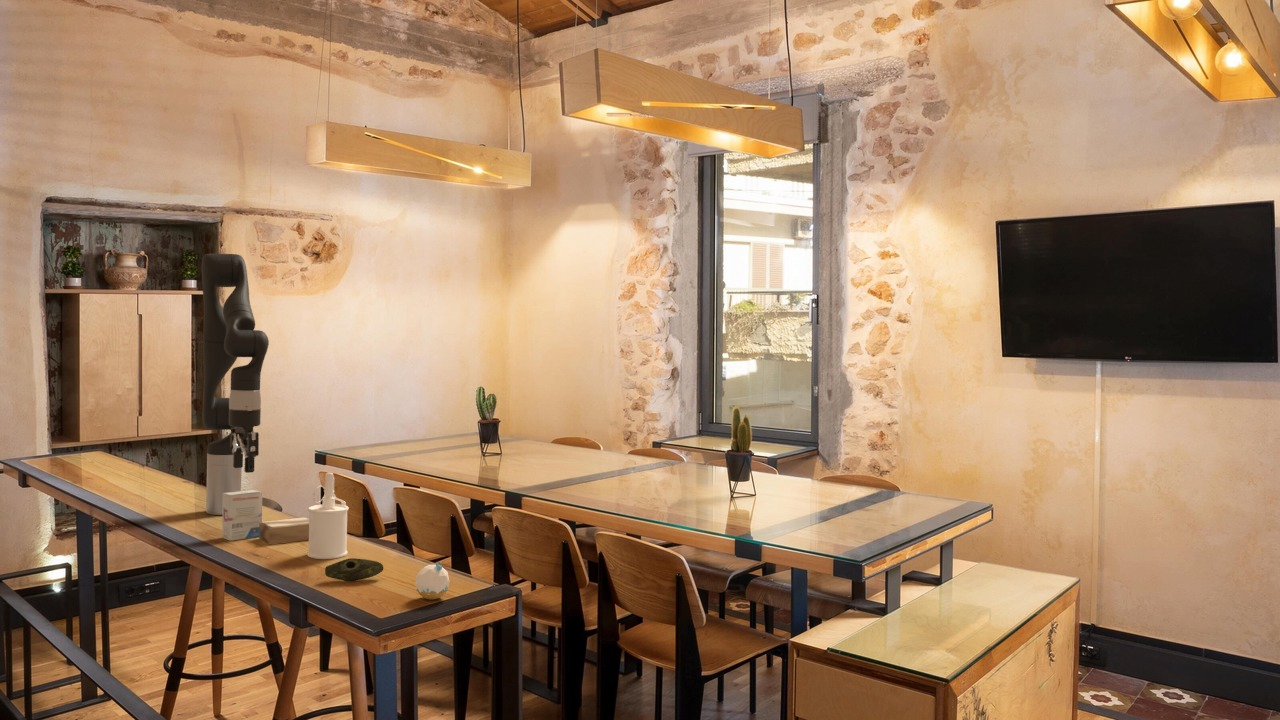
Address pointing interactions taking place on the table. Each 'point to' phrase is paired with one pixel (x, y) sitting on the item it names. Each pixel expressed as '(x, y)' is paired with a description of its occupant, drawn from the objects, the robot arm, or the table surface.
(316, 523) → the white canister grenade
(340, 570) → the decorative stone
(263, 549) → the table surface
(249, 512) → the ink box
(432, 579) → the ornament
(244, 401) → the robot arm
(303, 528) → the open box
